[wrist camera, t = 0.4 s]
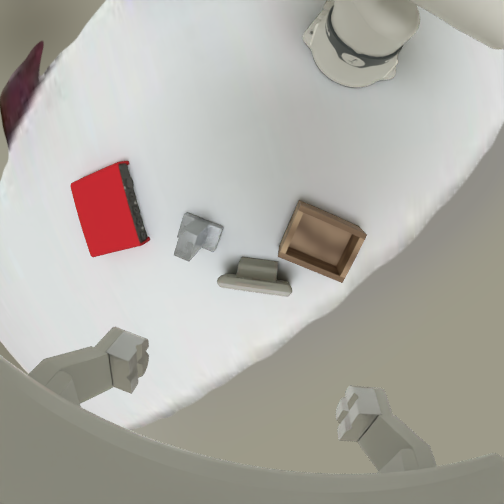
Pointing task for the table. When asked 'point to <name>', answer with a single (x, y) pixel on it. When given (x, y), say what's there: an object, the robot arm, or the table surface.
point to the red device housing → (109, 210)
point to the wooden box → (321, 241)
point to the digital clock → (256, 278)
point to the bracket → (196, 236)
